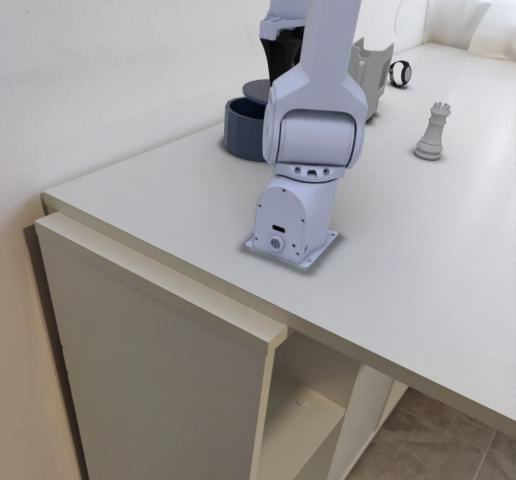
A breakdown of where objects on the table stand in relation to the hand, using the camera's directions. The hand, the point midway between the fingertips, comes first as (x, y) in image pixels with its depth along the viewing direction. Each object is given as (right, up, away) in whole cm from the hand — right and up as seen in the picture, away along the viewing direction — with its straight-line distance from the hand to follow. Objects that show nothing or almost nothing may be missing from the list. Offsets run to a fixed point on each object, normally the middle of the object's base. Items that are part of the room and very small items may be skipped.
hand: (282, 87), depth 77 cm
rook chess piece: (+24, -6, +11) cm, 27 cm away
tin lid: (0, -1, +1) cm, 1 cm away
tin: (-3, -6, +7) cm, 10 cm away
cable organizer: (+16, +6, +24) cm, 29 cm away
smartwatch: (+27, +19, +40) cm, 52 cm away
